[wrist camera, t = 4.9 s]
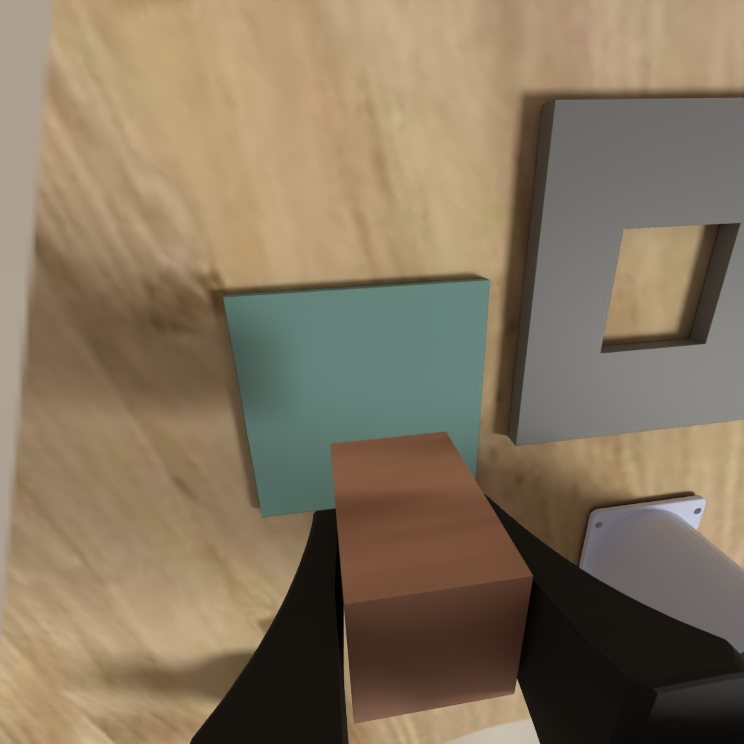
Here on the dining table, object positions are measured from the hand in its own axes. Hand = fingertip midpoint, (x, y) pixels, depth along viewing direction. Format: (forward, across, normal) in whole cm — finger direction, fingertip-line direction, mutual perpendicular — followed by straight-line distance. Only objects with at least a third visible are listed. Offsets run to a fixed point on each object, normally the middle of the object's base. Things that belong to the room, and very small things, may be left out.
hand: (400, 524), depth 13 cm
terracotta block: (+2, 0, 0) cm, 2 cm away
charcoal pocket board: (+9, -15, -5) cm, 18 cm away
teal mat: (+9, 0, 0) cm, 9 cm away
